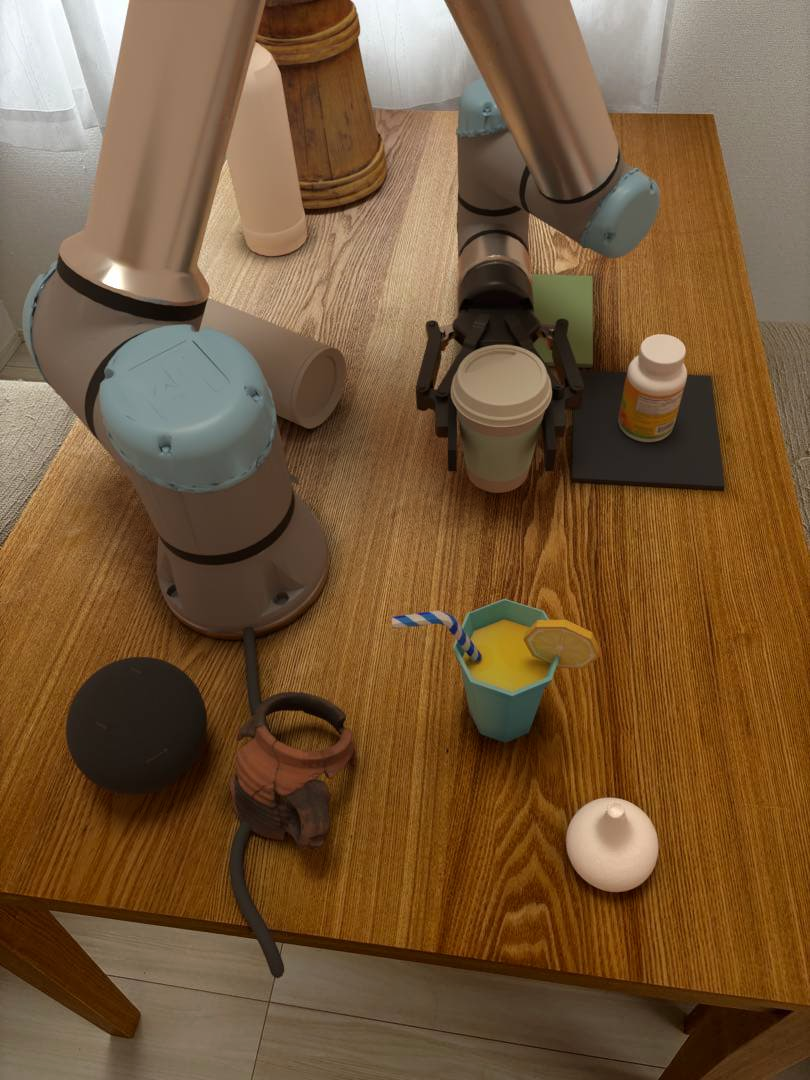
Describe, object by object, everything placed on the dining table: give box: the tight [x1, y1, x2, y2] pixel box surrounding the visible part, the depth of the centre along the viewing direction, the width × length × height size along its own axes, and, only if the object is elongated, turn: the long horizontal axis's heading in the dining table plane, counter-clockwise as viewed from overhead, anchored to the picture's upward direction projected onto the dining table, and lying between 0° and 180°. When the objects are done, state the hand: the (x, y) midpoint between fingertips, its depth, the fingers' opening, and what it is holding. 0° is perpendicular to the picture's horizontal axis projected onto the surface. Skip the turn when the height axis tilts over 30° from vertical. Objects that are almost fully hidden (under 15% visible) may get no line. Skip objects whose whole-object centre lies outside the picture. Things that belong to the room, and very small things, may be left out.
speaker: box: [65, 656, 208, 795], centre depth 64 cm, size 10×10×10 cm
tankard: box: [255, 0, 388, 210], centre depth 109 cm, size 18×24×25 cm
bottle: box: [225, 42, 308, 257], centre depth 97 cm, size 8×8×30 cm
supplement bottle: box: [618, 333, 688, 442], centre depth 82 cm, size 5×5×10 cm
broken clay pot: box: [229, 691, 358, 852], centre depth 64 cm, size 12×10×8 cm
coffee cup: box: [451, 345, 552, 494], centre depth 77 cm, size 8×9×12 cm
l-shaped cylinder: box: [199, 298, 347, 429], centre depth 88 cm, size 18×11×20 cm
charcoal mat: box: [571, 369, 726, 491], centre depth 86 cm, size 15×14×1 cm
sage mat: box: [531, 273, 594, 369], centre depth 97 cm, size 15×14×1 cm
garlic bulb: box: [565, 797, 659, 893], centre depth 59 cm, size 6×6×8 cm
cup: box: [391, 598, 601, 744], centre depth 63 cm, size 14×8×15 cm, turn 90°
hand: (501, 460), depth 73 cm, fingers closed on coffee cup, 8 cm apart
